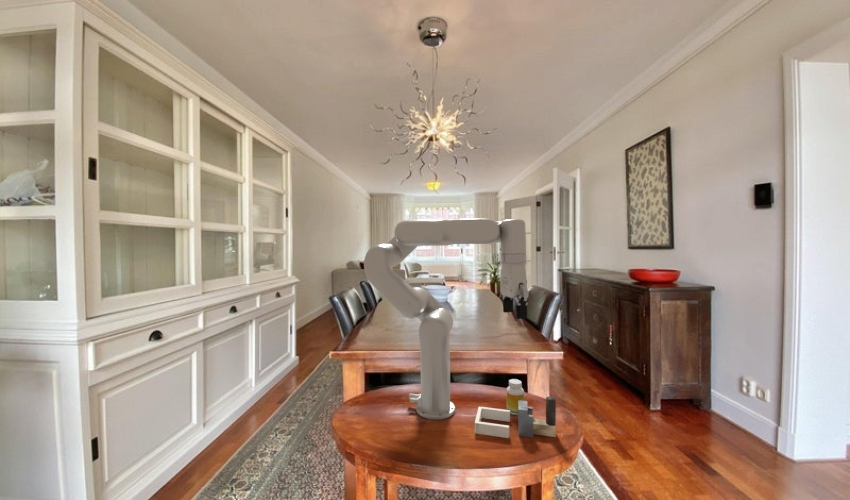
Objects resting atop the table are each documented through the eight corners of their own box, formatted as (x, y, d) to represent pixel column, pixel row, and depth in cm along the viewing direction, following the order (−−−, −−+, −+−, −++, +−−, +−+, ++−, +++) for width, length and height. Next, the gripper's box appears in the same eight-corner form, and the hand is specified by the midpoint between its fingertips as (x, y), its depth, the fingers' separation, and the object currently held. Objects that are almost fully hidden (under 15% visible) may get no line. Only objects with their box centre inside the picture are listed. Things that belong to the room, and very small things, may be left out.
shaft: (525, 433, 96) (525, 398, 95) (525, 427, 98) (525, 393, 98) (556, 437, 93) (556, 401, 93) (555, 431, 96) (555, 396, 96)
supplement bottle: (524, 416, 105) (524, 385, 105) (507, 414, 106) (506, 384, 106) (523, 408, 111) (523, 378, 110) (506, 406, 112) (506, 377, 111)
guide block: (518, 435, 95) (518, 409, 95) (518, 424, 100) (518, 400, 100) (533, 437, 94) (533, 411, 94) (532, 426, 99) (532, 401, 99)
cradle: (474, 433, 96) (474, 422, 96) (478, 415, 106) (478, 406, 106) (509, 438, 93) (509, 427, 93) (510, 420, 103) (510, 410, 103)
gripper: (491, 259, 111) (492, 310, 112) (513, 261, 94) (515, 322, 94) (513, 258, 113) (514, 309, 113) (538, 260, 95) (539, 320, 96)
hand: (514, 315), depth 104 cm, fingers open, 9 cm apart
